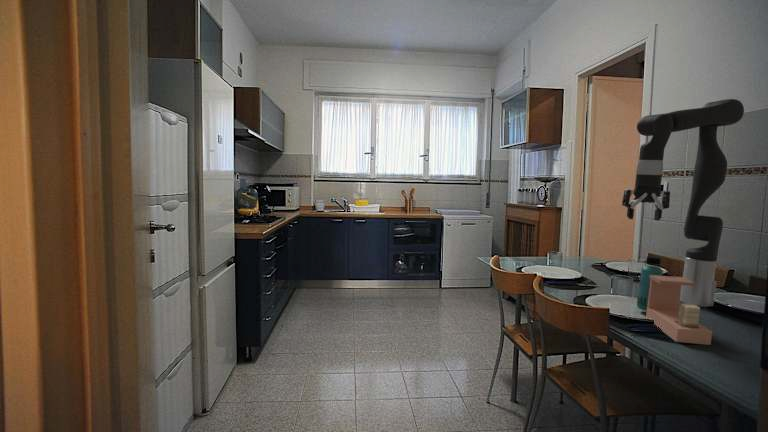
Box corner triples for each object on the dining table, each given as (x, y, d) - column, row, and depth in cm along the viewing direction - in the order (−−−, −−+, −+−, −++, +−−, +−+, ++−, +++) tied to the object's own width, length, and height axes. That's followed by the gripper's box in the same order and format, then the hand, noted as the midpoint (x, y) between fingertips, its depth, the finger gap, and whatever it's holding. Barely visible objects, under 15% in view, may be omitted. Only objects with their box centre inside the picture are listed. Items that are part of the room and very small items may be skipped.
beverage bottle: (654, 310, 141) (661, 255, 138) (660, 317, 135) (668, 259, 132) (633, 308, 143) (640, 253, 140) (638, 314, 137) (645, 257, 134)
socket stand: (676, 321, 132) (682, 277, 130) (712, 345, 114) (719, 294, 112) (644, 318, 134) (649, 274, 132) (674, 341, 116) (681, 291, 114)
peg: (695, 340, 117) (700, 307, 116) (682, 339, 118) (687, 307, 116) (688, 335, 120) (692, 303, 119) (676, 334, 121) (680, 303, 120)
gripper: (632, 173, 136) (626, 220, 138) (677, 174, 134) (671, 222, 136) (622, 172, 143) (617, 217, 145) (665, 173, 141) (659, 219, 143)
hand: (643, 219), depth 141 cm, fingers open, 8 cm apart
